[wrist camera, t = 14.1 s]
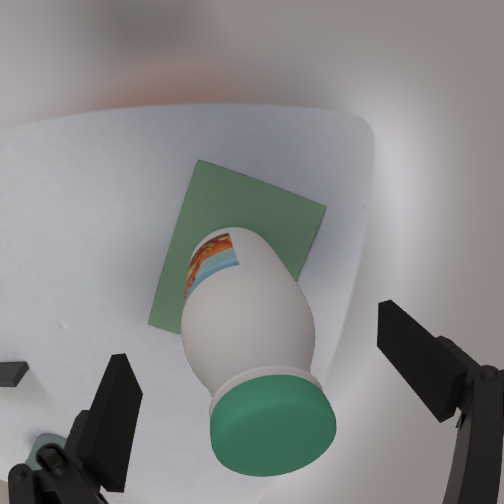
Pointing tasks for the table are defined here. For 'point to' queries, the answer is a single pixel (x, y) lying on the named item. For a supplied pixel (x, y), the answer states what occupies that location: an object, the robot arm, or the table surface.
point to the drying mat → (232, 215)
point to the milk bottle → (254, 356)
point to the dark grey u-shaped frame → (12, 373)
